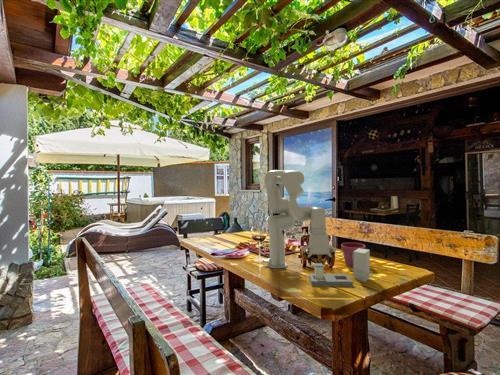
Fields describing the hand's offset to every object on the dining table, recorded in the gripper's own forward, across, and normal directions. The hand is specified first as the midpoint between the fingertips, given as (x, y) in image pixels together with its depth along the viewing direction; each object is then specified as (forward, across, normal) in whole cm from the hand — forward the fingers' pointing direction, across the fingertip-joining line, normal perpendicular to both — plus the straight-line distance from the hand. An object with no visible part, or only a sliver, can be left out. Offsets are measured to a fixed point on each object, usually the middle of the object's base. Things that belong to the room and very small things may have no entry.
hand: (319, 264), depth 153 cm
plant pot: (+10, +25, +34) cm, 43 cm away
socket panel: (+10, +5, +1) cm, 11 cm away
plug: (+9, 0, +1) cm, 9 cm away
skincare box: (+10, +23, +8) cm, 26 cm away
